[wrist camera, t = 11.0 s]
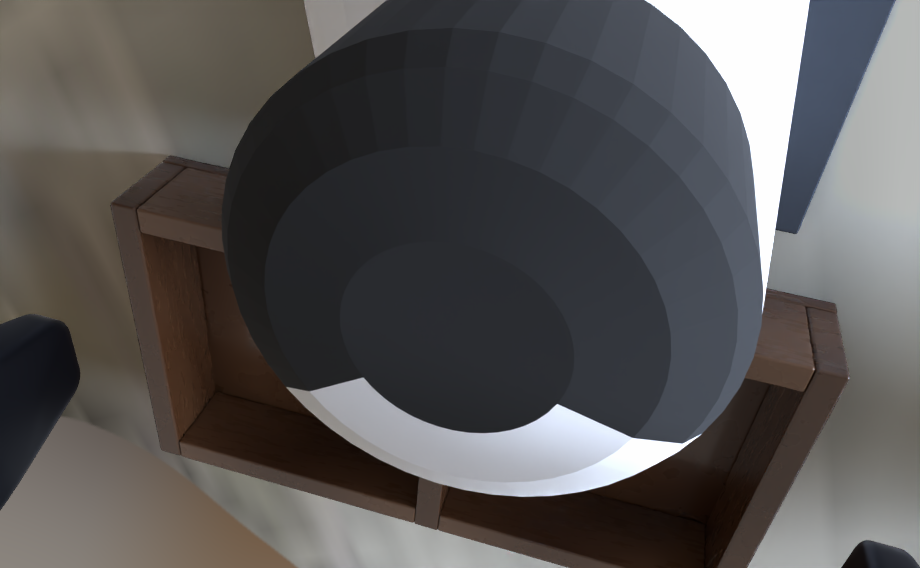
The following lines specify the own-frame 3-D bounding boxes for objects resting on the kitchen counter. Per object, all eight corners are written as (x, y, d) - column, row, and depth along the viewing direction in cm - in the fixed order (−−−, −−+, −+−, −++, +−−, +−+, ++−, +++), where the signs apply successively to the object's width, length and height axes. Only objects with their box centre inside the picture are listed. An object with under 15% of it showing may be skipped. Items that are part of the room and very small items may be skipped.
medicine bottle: (425, -157, 16) (31, -2, 7) (788, -189, 14) (925, -35, 5) (458, 153, 20) (236, 520, 11) (746, 161, 18) (778, 612, 9)
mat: (969, -189, 14) (975, -187, 14) (795, 227, 20) (797, 235, 19) (349, -267, 16) (342, -266, 16) (347, 133, 21) (341, 139, 21)
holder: (836, 303, 20) (852, 378, 18) (723, 534, 26) (724, 613, 24) (169, 154, 23) (108, 202, 21) (204, 393, 29) (160, 450, 27)
